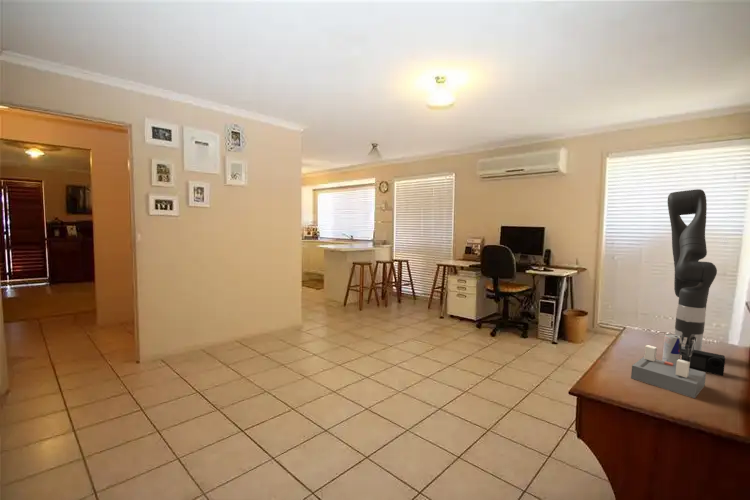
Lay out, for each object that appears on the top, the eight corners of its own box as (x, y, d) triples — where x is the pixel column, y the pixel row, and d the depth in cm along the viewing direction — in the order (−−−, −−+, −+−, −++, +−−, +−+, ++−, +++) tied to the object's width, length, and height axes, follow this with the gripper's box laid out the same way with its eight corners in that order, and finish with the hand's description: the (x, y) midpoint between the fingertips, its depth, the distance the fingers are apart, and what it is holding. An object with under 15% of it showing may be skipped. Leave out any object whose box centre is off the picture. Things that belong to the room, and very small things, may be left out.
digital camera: (686, 369, 140) (688, 352, 139) (686, 364, 144) (688, 348, 143) (723, 377, 133) (725, 359, 132) (722, 372, 137) (724, 355, 136)
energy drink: (682, 367, 141) (685, 338, 139) (666, 366, 142) (669, 337, 140) (673, 362, 146) (676, 334, 145) (659, 361, 147) (661, 333, 146)
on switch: (646, 357, 138) (647, 344, 137) (655, 359, 136) (656, 347, 135) (644, 358, 136) (645, 346, 136) (653, 361, 134) (654, 348, 134)
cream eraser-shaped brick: (677, 372, 125) (678, 359, 124) (688, 375, 122) (689, 361, 122) (675, 374, 123) (676, 360, 123) (686, 377, 121) (688, 363, 120)
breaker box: (643, 368, 140) (644, 354, 140) (704, 386, 126) (706, 371, 126) (630, 378, 132) (632, 363, 131) (694, 398, 118) (696, 382, 117)
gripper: (681, 312, 130) (676, 358, 132) (671, 319, 122) (666, 367, 124) (709, 317, 124) (703, 365, 126) (700, 324, 116) (694, 375, 118)
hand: (685, 366), depth 125 cm, fingers closed
